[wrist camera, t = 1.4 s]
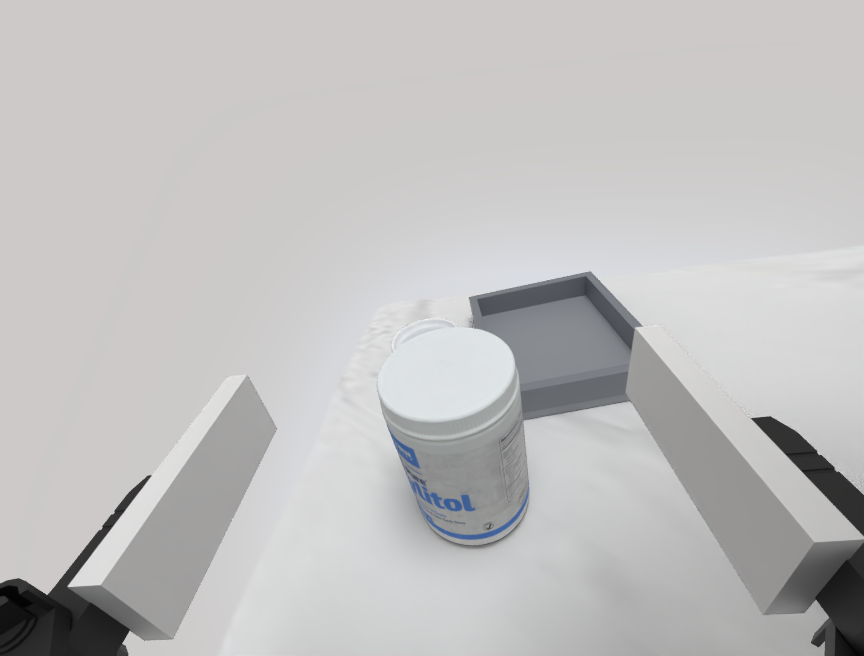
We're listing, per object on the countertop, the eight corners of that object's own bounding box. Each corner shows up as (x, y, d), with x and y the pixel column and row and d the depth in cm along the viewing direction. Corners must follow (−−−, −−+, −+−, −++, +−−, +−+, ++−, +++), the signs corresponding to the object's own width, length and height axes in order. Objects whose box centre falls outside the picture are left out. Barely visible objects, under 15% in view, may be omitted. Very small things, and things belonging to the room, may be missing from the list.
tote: (589, 296, 53) (590, 271, 51) (670, 393, 36) (676, 362, 34) (473, 320, 54) (468, 297, 52) (499, 424, 38) (494, 396, 36)
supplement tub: (404, 532, 31) (343, 410, 23) (441, 440, 38) (405, 322, 30) (522, 567, 27) (498, 434, 19) (539, 456, 34) (527, 325, 26)
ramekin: (454, 335, 53) (448, 309, 50) (475, 372, 45) (470, 344, 43) (394, 355, 52) (386, 330, 49) (407, 396, 44) (397, 369, 42)
